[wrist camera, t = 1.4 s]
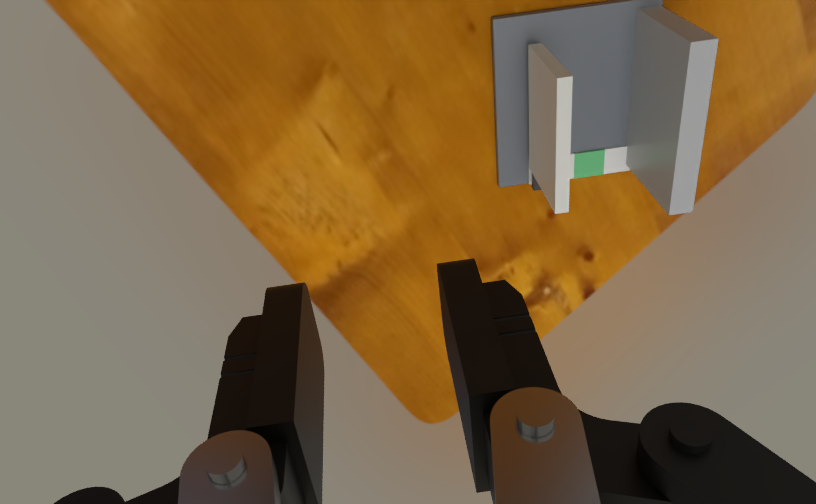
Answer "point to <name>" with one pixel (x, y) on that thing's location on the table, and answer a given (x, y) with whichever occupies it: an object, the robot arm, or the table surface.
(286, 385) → the robot arm
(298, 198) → the table surface
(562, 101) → the panel
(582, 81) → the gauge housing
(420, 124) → the table surface
